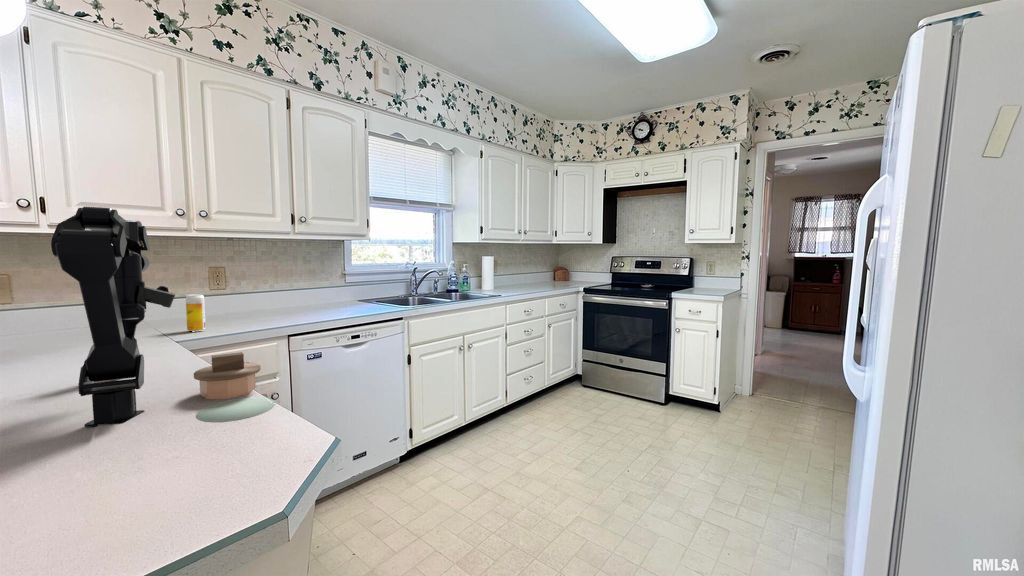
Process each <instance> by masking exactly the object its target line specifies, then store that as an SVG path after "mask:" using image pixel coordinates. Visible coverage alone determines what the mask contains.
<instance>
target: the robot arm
mask: <svg viewBox="0 0 1024 576" xmlns="http://www.w3.org/2000/svg"><path fill="white" fill-rule="evenodd" d="M50 242H51V243H50V246H51V252H52V254H53V256H54V257H57V259H58V262H59V264H60V268H61V270H62V271H63V272H64V273H66V274H67V275H69V276H70V277H71V278H73V279H74V280H76V281H77V282H78V284H79V289H80V292H81V297H82V301H83V305H84V309H85V313H86V319H87V323H88V327H89V331H90V334H91V339H92V343H93V344H92V345H91V346H90V349H89V351H88V355H87V357H86V358H85V360H84V361H83V365H82V366H81V367H80V370H79V371H80V373H79V378H78V394H79V395H80V397H85V396H90V395H91V402H92V414H93V419H92V420H90V421H87V422H85V423H84V427H86V428H88V427H98V426H100V425H103V426H105V425H121V424H124V423H127V422H129V421H131V420H132V419H133V418H136V417H137V416H140V415H141V414H143V413H144V412H145V410H143V409H142V410H137V397H136V393H137V392H136V390H141V388H142V387H143V385H144V384H145V357H144V354H143V353H142V354H141V353H140V350H139V346H138V345H139V344H138V340H137V339H136V338H135V335H136V330H137V325H138V324H140V323H142V321H144V319H145V316H146V314H145V313H146V312H147V303H150V304H154V305H158V306H162V307H164V308H167V309H171V307H172V304H173V301H174V299H175V297H176V293H173V292H170V291H169V287H167V286H163V285H159V286H158V287H157V288H154V287H148V286H146V282H145V281H144V280H143V273H144V272H145V271H147V270H148V268H149V267H150V259H149V258H148V256H147V255H146V254H144V253H143V252H142V251H148V252H149V251H151V250H150V243H149V238H148V233H147V228H146V226H145V225H143V224H142V221H140V220H132V219H131V220H130V219H129V220H128V219H125V218H124V217H122V216H121V215H119V212H118V210H117V209H113V208H112V207H101V206H99V207H98V206H83V207H77V210H76V213H75V214H74V215H73V216H70V217H69V218H67V219H64V220H63V221H61V222H59V223H57V225H56V227H55V230H54V232H53V235H52V238H51V241H50Z"/></svg>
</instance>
